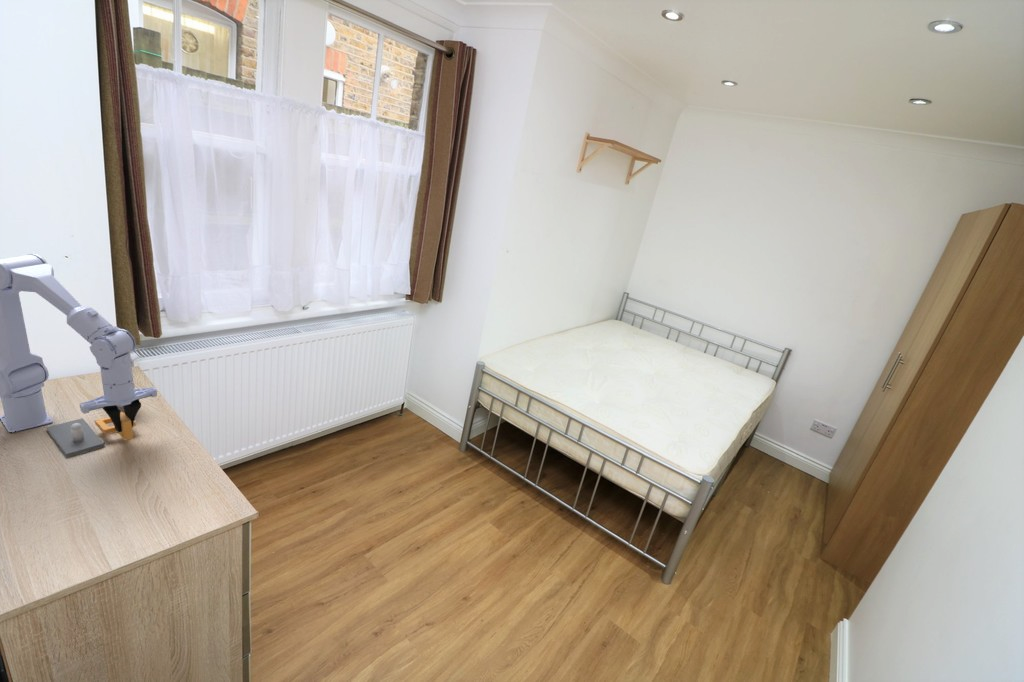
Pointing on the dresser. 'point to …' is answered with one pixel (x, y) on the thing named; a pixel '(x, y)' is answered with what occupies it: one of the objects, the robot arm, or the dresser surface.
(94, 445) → the keeper board
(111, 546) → the dresser surface
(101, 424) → the orange loop handle block
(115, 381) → the robot arm
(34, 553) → the dresser surface
